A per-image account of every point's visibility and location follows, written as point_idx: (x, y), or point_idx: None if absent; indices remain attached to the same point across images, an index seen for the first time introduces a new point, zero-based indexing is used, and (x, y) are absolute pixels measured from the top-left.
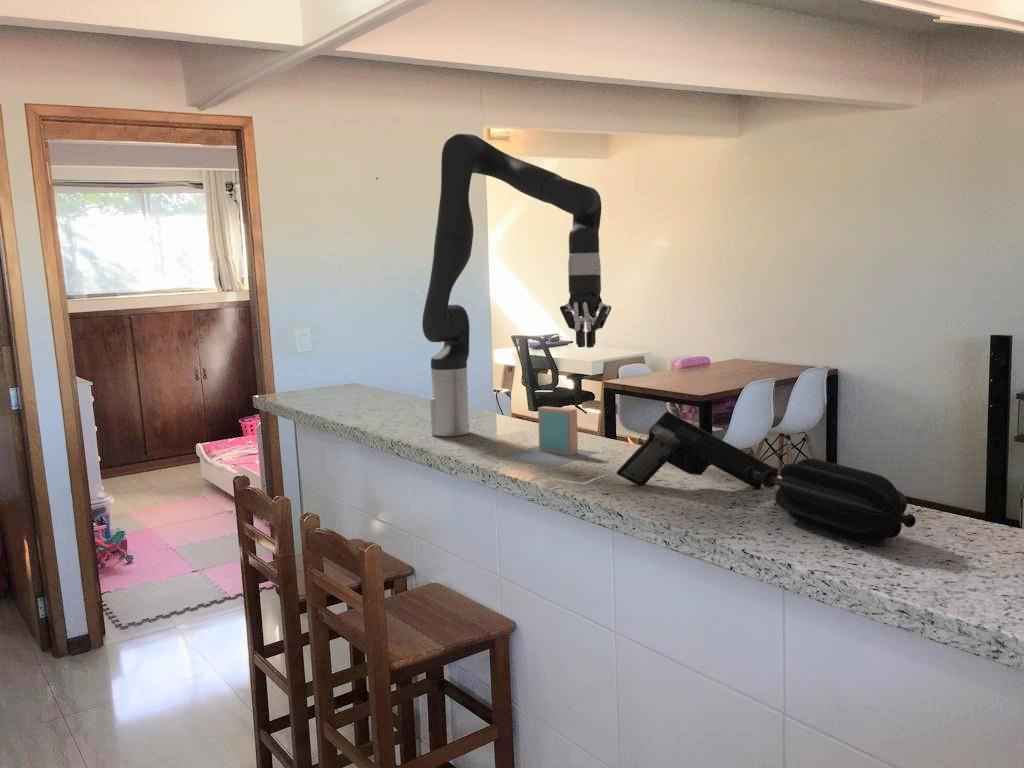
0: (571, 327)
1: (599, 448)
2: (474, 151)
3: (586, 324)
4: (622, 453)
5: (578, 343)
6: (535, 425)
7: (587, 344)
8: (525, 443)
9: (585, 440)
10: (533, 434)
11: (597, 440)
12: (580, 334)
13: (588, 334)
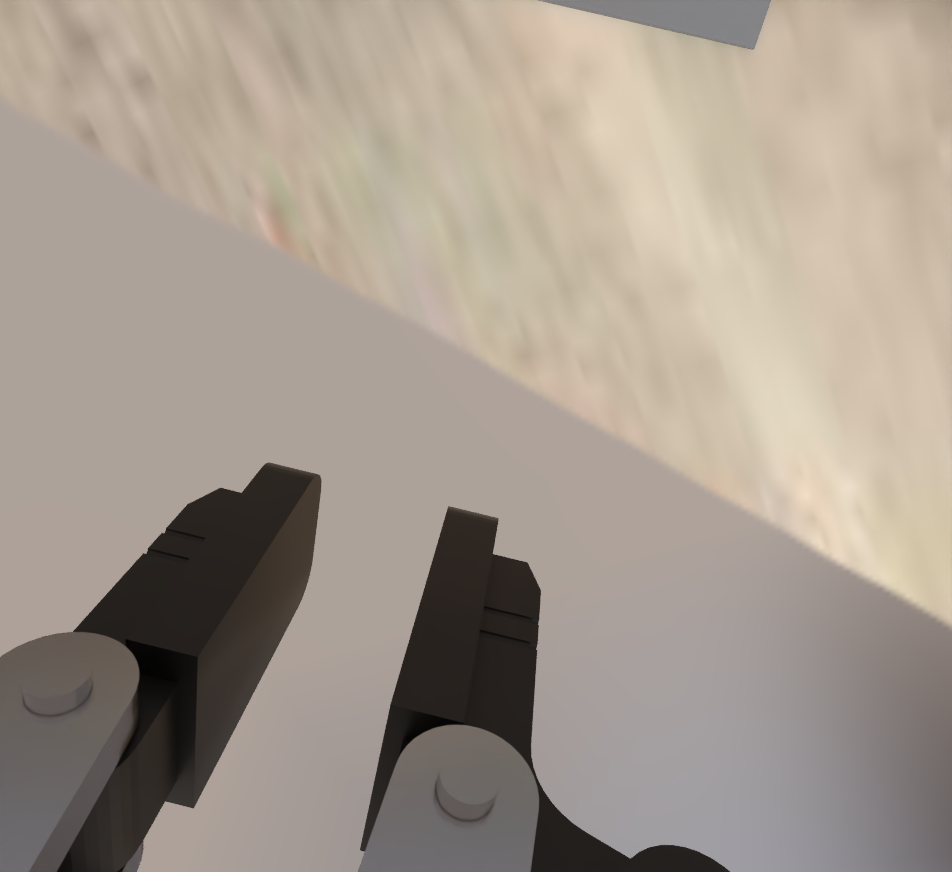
0: (649, 869)
1: (391, 106)
2: None
3: (52, 832)
4: (218, 11)
5: (473, 538)
6: (936, 590)
7: (282, 486)
8: (886, 100)
9: (544, 294)
10: (894, 372)
11: (482, 312)
12: (400, 674)
13: (163, 602)
